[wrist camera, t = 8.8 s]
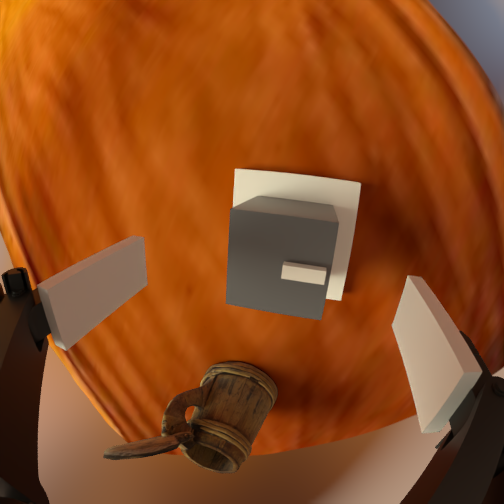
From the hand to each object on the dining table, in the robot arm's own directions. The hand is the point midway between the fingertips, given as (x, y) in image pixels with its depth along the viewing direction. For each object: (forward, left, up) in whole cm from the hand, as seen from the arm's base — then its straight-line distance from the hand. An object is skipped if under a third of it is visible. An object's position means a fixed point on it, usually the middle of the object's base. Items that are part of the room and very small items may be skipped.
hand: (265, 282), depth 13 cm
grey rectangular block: (0, 0, -10) cm, 10 cm away
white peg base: (0, 0, -12) cm, 12 cm away
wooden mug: (+18, -5, -12) cm, 22 cm away
